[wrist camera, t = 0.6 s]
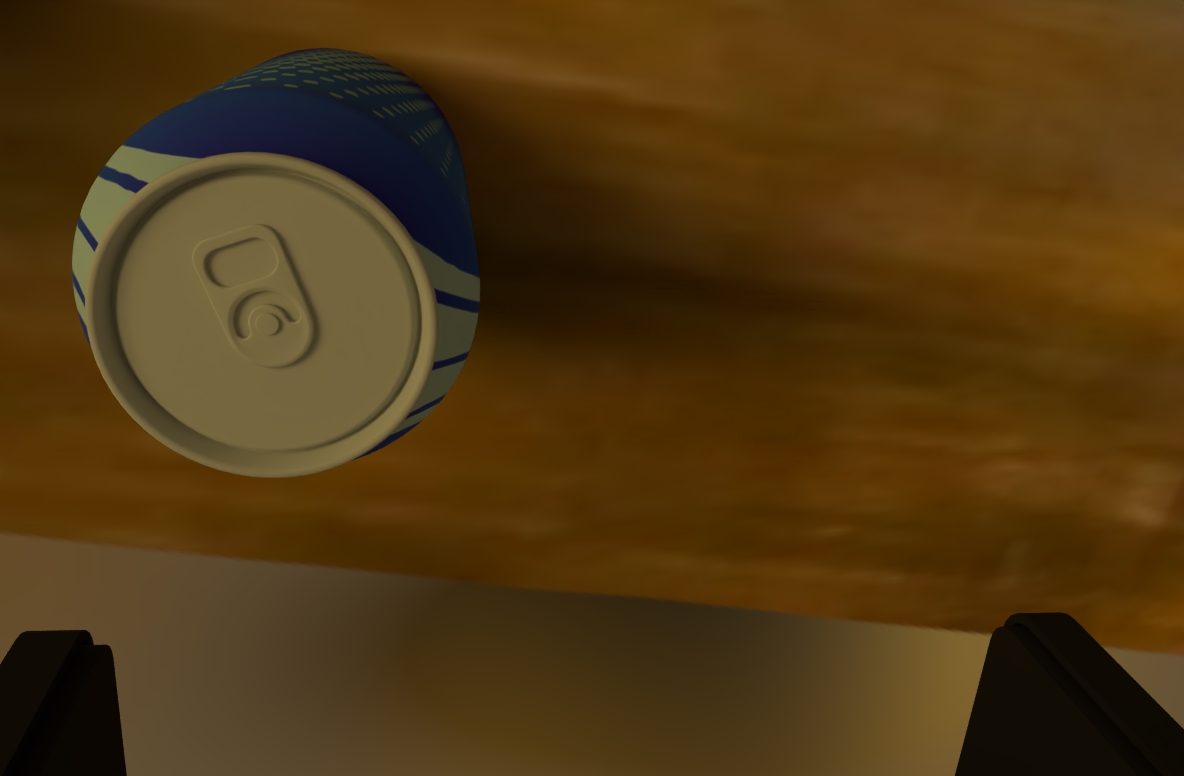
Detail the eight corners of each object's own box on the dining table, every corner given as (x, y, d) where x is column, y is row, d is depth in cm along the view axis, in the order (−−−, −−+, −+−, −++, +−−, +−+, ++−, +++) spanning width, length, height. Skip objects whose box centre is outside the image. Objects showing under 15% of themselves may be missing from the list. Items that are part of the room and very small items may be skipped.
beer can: (500, 106, 34) (549, 204, 20) (415, 329, 37) (402, 565, 22) (249, 2, 32) (92, 23, 17) (177, 247, 34) (-15, 448, 20)
